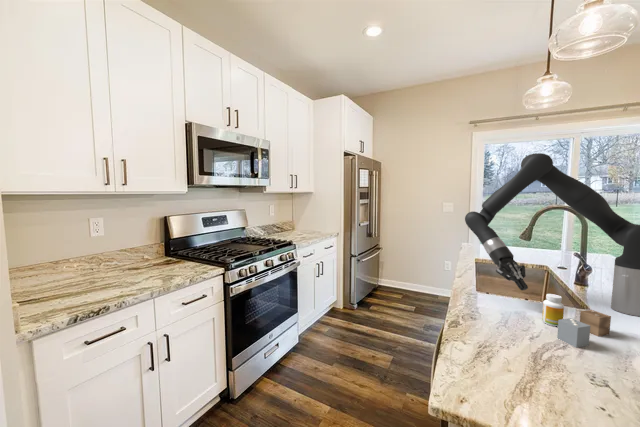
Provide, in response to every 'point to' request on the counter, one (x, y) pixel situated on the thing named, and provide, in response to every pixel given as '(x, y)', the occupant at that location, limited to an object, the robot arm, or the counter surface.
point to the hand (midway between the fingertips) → (525, 289)
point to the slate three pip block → (573, 332)
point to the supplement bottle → (552, 309)
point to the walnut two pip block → (596, 322)
